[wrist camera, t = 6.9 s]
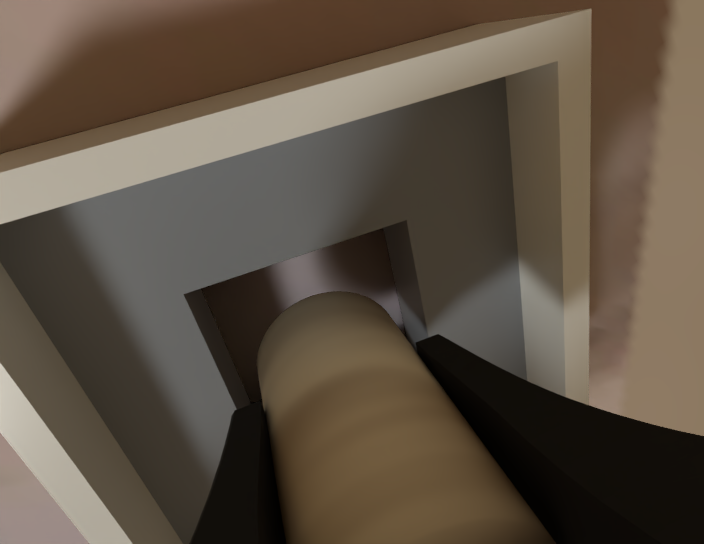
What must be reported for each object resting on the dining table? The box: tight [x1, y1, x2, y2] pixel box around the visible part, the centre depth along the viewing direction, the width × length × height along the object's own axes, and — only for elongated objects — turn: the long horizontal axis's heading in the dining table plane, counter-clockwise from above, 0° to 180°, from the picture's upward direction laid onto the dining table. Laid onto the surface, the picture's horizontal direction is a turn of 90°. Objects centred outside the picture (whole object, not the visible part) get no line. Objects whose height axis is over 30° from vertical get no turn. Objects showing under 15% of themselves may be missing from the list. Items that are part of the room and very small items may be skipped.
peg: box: [257, 291, 556, 544], centre depth 10 cm, size 4×4×7 cm
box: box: [0, 8, 592, 544], centre depth 14 cm, size 14×14×4 cm
